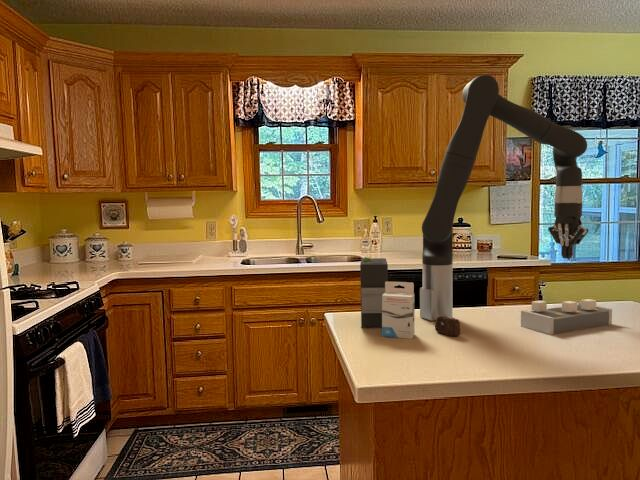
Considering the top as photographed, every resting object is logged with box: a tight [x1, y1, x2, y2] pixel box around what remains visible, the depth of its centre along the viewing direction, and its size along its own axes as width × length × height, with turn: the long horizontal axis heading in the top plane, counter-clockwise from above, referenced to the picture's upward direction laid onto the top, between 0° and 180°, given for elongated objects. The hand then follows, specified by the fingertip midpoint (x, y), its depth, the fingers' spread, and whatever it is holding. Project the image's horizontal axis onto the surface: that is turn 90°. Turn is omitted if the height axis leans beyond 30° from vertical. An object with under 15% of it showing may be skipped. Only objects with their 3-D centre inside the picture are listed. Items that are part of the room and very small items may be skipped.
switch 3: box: [580, 298, 597, 310], centre depth 144 cm, size 3×2×2 cm
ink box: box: [381, 281, 415, 340], centre depth 136 cm, size 8×5×15 cm, turn 72°
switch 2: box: [561, 300, 578, 312], centre depth 142 cm, size 3×2×2 cm
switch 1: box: [531, 300, 548, 312], centre depth 143 cm, size 3×2×2 cm
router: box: [359, 256, 389, 329], centre depth 152 cm, size 8×18×20 cm, turn 174°
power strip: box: [520, 301, 613, 335], centre depth 143 cm, size 24×10×5 cm, turn 113°
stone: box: [434, 316, 461, 337], centre depth 136 cm, size 8×3×5 cm, turn 33°
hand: (566, 258), depth 150 cm, fingers closed
